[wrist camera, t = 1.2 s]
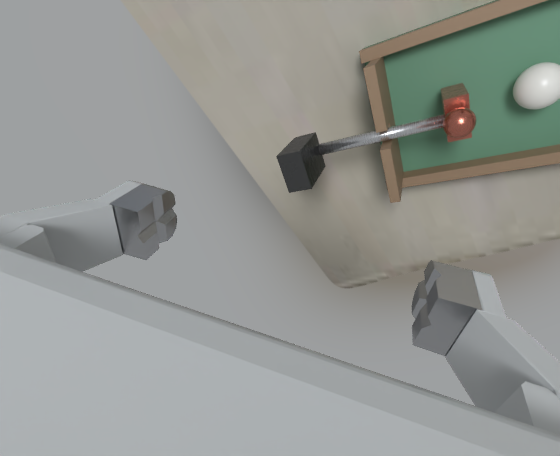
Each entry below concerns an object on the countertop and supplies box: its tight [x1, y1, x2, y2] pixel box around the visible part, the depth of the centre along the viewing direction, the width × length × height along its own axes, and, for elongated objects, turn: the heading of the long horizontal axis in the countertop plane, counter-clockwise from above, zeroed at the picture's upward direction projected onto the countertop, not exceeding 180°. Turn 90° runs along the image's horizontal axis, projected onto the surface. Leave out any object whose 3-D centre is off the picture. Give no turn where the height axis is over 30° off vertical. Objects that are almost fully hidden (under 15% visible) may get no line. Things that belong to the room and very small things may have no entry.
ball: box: [513, 62, 560, 109], centre depth 30 cm, size 4×4×4 cm
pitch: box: [359, 0, 560, 203], centre depth 31 cm, size 21×16×10 cm
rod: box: [276, 83, 476, 193], centre depth 33 cm, size 17×4×11 cm, turn 110°
